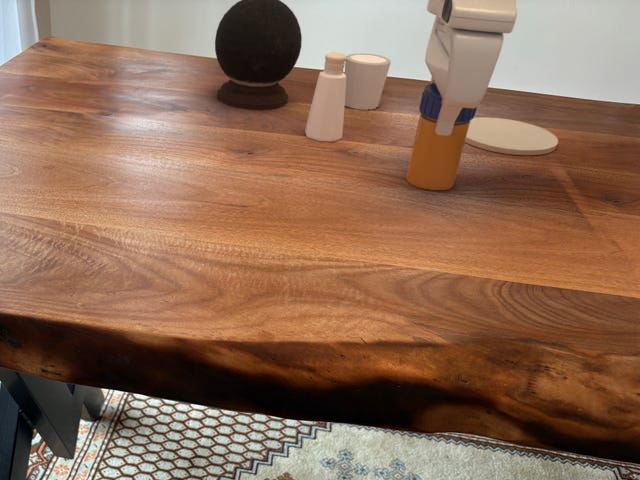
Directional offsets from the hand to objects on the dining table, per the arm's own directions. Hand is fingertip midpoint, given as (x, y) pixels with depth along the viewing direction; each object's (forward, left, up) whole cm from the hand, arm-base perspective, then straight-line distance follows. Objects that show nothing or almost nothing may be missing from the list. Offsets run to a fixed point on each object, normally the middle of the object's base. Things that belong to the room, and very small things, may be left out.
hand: (437, 123), depth 92 cm
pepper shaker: (+12, -14, -7) cm, 20 cm away
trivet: (-14, -20, -7) cm, 25 cm away
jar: (-1, 0, -7) cm, 7 cm away
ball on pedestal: (+23, -29, -7) cm, 38 cm away
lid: (-1, 0, +4) cm, 4 cm away
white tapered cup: (+6, -31, -7) cm, 33 cm away
